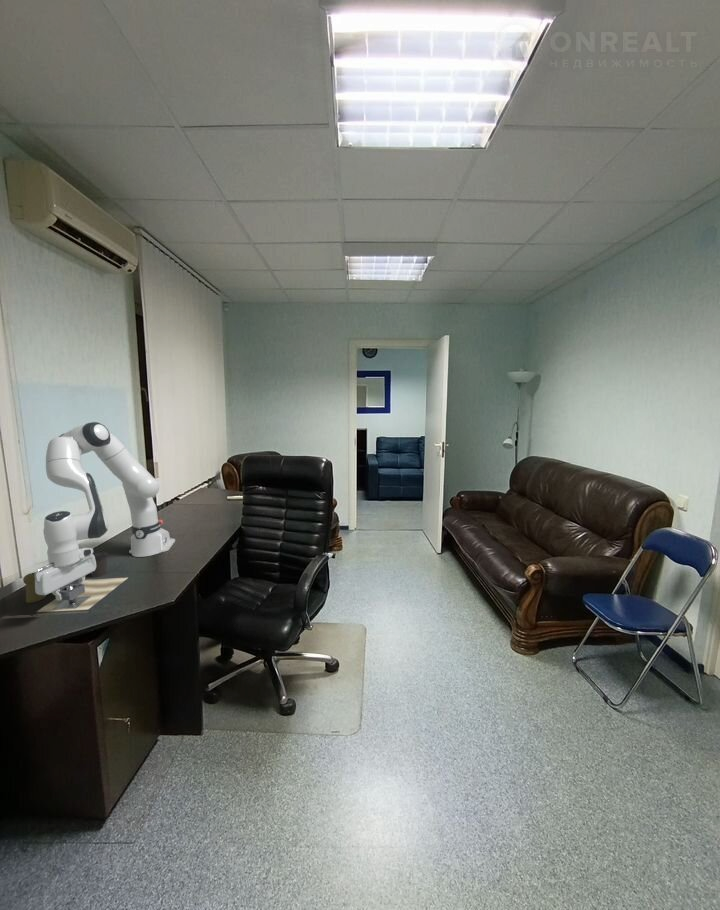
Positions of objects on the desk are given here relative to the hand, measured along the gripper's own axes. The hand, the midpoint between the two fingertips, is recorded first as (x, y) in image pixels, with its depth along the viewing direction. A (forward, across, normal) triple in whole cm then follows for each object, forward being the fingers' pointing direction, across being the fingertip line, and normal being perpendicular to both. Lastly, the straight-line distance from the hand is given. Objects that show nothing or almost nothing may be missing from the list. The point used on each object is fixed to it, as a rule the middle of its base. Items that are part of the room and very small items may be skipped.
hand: (70, 594), depth 135 cm
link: (+1, 0, 0) cm, 1 cm away
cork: (+5, +1, +18) cm, 18 cm away
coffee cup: (+5, +22, +11) cm, 25 cm away
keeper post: (+4, 0, 0) cm, 4 cm away
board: (+5, +7, +1) cm, 8 cm away
